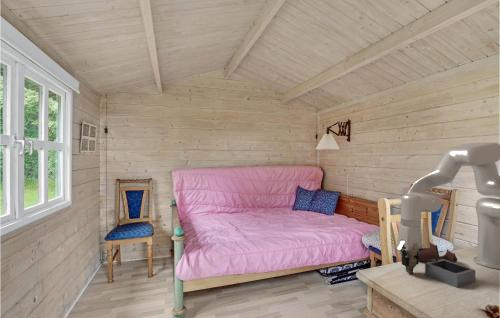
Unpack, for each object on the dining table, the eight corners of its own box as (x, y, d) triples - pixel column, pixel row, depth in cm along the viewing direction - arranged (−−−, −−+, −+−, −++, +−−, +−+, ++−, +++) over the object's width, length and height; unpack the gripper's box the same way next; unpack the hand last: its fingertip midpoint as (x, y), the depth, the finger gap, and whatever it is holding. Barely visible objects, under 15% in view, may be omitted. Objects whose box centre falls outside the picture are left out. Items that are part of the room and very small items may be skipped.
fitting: (442, 269, 118) (442, 258, 118) (475, 282, 107) (475, 269, 107) (425, 274, 114) (425, 263, 113) (457, 287, 102) (457, 275, 102)
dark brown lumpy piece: (460, 264, 121) (456, 242, 122) (420, 267, 125) (416, 247, 125) (453, 259, 127) (449, 238, 128) (415, 262, 131) (411, 242, 131)
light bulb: (420, 276, 112) (420, 241, 112) (410, 278, 110) (410, 242, 110) (409, 270, 117) (409, 237, 117) (399, 272, 116) (399, 238, 115)
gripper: (415, 219, 120) (414, 258, 121) (389, 222, 114) (388, 264, 114) (432, 223, 113) (431, 264, 114) (405, 227, 107) (404, 271, 107)
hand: (410, 264), depth 114 cm, fingers closed on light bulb, 5 cm apart
